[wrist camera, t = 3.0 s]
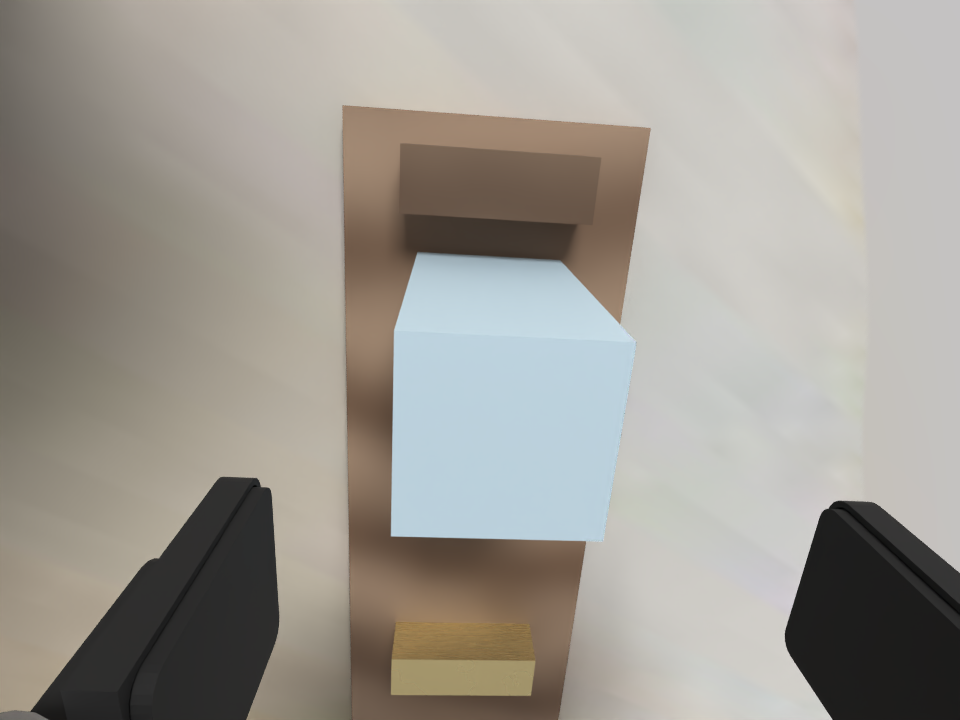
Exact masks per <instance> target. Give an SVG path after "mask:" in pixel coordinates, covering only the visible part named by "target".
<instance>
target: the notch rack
mask: <svg viewBox="0 0 960 720" xmlns="http://www.w3.org/2000/svg"><path fill="white" fill-rule="evenodd" d="M650 129H651V128H643V127H629V126H616V125H602V124H588V123H575V122H561V121H548V120H534V119H521V118H507V117H493V116H480V115H466V114H453V113H439V112H426V111H412V110H398V109H385V108H371V107H358V106H344V105H343V170H344V236H345V301H346V366H347V431H348V497H349V562H350V627H351V693H352V720H558V717H559V711H560V705H561V698H562V692H563V685H564V679H565V673H566V666H567V660H568V653H569V647H570V641H571V634H572V628H573V621H574V615H575V609H576V602H577V596H578V589H579V583H580V577H581V570H582V564H583V558H584V551H585V545H586V541H562V540H521V539H480V538H438V537H397V536H391V500H392V433H393V366H394V329H395V326H396V322H397V319H398V316H399V312H400V309H401V306H402V302H403V299H404V296H405V292H406V289H407V286H408V282H409V279H410V276H411V272H412V269H413V266H414V262H415V259H416V256H417V252H428V253H445V254H463V255H480V256H498V257H515V258H533V259H550V260H560V261H561V262H562V263H563V264H564V265H565V266H566V267H567V268H568V269H569V270H570V271H571V272H572V273H573V275H574V276H575V277H576V278H577V279H578V280H579V281H580V282H581V283H582V284H583V285H584V286H585V287H586V289H587V290H588V291H589V292H590V293H591V294H592V295H593V296H594V297H595V298H596V299H597V300H598V301H599V302H600V304H601V305H602V306H603V307H604V308H605V309H606V310H607V311H608V312H609V313H610V314H611V315H612V316H613V317H614V319H615V320H616V321H617V322H618V323H619V324H620V321H621V315H622V308H623V302H624V295H625V289H626V283H627V276H628V270H629V263H630V257H631V251H632V244H633V238H634V232H635V225H636V219H637V212H638V206H639V200H640V193H641V187H642V180H643V174H644V168H645V161H646V155H647V148H648V142H649V136H650Z"/></svg>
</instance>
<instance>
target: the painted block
mask: <svg viewBox="0 0 960 720" xmlns="http://www.w3.org/2000/svg"><path fill="white" fill-rule="evenodd" d="M636 343H637V342H636V341H635V340H634V339H633V338H632V337H631V336H630V335H629V334H628V333H627V331H626V330H625V329H624V328H623V327H622V326H621V325H620V324H619V323H618V322H617V321H616V320H615V319H614V317H613V316H612V315H611V314H610V313H609V312H608V311H607V310H606V309H605V308H604V307H603V306H602V305H601V304H600V302H599V301H598V300H597V299H596V298H595V297H594V296H593V295H592V294H591V293H590V292H589V291H588V290H587V289H586V287H585V286H584V285H583V284H582V283H581V282H580V281H579V280H578V279H577V278H576V277H575V276H574V275H573V273H572V272H571V271H570V270H569V269H568V268H567V267H566V266H565V265H564V264H563V263H562V262H561V261H560V260H550V259H533V258H515V257H498V256H480V255H463V254H445V253H428V252H417V256H416V259H415V262H414V266H413V269H412V272H411V276H410V279H409V282H408V286H407V289H406V292H405V296H404V299H403V302H402V306H401V309H400V312H399V316H398V319H397V322H396V326H395V329H394V366H393V433H392V500H391V536H397V537H438V538H480V539H521V540H562V541H603V539H604V533H605V527H606V521H607V515H608V509H609V503H610V497H611V491H612V485H613V479H614V473H615V467H616V462H617V456H618V450H619V444H620V438H621V432H622V426H623V420H624V414H625V408H626V402H627V396H628V390H629V384H630V379H631V373H632V367H633V361H634V355H635V349H636Z"/></svg>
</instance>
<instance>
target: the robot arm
mask: <svg viewBox="0 0 960 720" xmlns="http://www.w3.org/2000/svg"><path fill="white" fill-rule="evenodd" d="M278 628H279V606H278V590H277V574H276V557H275V541H274V525H273V509H272V495H271V490H270V489H269V488H265V487H261V486H260V482H259V480H258V479H257V478H238V477H220V478H219V479H218V480H217V481H216V483H215V484H214V485H213V487H212V488H211V489H210V491H209V492H208V493H207V495H206V496H205V497H204V499H203V500H202V501H201V503H200V504H199V505H198V507H197V508H196V509H195V511H194V512H193V513H192V515H191V516H190V517H189V519H188V520H187V521H186V523H185V524H184V526H183V527H182V528H181V530H180V531H179V532H178V534H177V535H176V536H175V538H174V539H173V540H172V542H171V543H170V544H169V546H168V547H167V548H166V550H165V551H164V552H163V554H162V555H161V556H160V558H159V559H158V558H154V559H152V560H150V561H148V562H147V563H146V564H145V565H144V566H143V567H142V568H141V569H140V570H139V571H138V573H137V574H136V575H135V577H134V578H133V579H132V580H131V582H130V583H129V584H128V586H127V587H126V588H125V590H124V591H123V592H122V593H121V595H120V596H119V597H118V599H117V600H116V601H115V602H114V604H113V605H112V606H111V608H110V609H109V610H108V612H107V613H106V614H105V615H104V617H103V618H102V619H101V621H100V622H99V623H98V625H97V626H96V627H95V628H94V630H93V631H92V632H91V634H90V635H89V636H88V638H87V639H86V640H85V641H84V643H83V644H82V645H81V647H80V648H79V649H78V650H77V652H76V653H75V654H74V656H73V657H72V658H71V660H70V661H69V662H68V663H67V665H66V666H65V667H64V669H63V670H62V671H61V673H60V674H59V675H58V676H57V678H56V679H55V680H54V682H53V683H52V684H51V685H50V687H49V688H48V689H47V691H46V692H45V693H44V695H43V696H42V697H41V698H40V700H39V701H38V702H37V704H36V705H35V706H34V708H33V709H32V710H31V711H30V712H26V711H16V710H14V711H8V712H2V713H0V720H246V719H247V716H248V713H249V711H250V708H251V705H252V703H253V700H254V697H255V695H256V692H257V690H258V687H259V684H260V682H261V679H262V676H263V674H264V671H265V668H266V666H267V663H268V660H269V658H270V655H271V652H272V650H273V647H274V645H275V642H276V638H277V634H278ZM785 642H786V647H787V650H788V652H789V654H790V656H791V657H792V659H793V660H794V662H795V663H796V665H797V666H798V668H799V670H800V671H801V673H802V674H803V676H804V677H805V679H806V680H807V682H808V683H809V685H810V686H811V688H812V689H813V691H814V692H815V694H816V695H817V697H818V698H819V700H820V701H821V703H822V704H823V706H824V707H825V709H826V710H827V712H828V713H829V715H830V716H831V718H832V719H833V720H960V573H959V572H958V571H956V570H955V569H954V568H953V567H952V566H951V565H949V564H948V563H947V562H946V561H945V560H943V559H942V558H941V557H940V556H939V555H937V554H936V553H935V552H934V551H932V550H931V549H930V548H929V547H928V546H927V545H925V544H924V543H923V542H922V541H920V540H919V539H918V538H917V537H916V536H915V535H913V534H912V533H911V532H910V531H909V530H907V529H906V528H905V527H904V526H903V525H901V524H900V523H899V522H898V521H897V520H896V519H894V518H893V517H892V516H891V515H889V514H888V513H887V512H886V511H885V510H884V509H882V508H881V507H880V506H878V505H877V504H875V503H872V502H858V501H836V502H834V503H833V504H832V505H831V506H830V507H829V509H826V510H824V511H823V512H822V513H821V516H820V518H819V521H818V525H817V528H816V531H815V534H814V538H813V541H812V544H811V548H810V551H809V554H808V558H807V561H806V564H805V567H804V571H803V574H802V577H801V581H800V584H799V587H798V590H797V594H796V597H795V600H794V604H793V607H792V610H791V614H790V617H789V620H788V623H787V627H786V630H785Z"/></svg>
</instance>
